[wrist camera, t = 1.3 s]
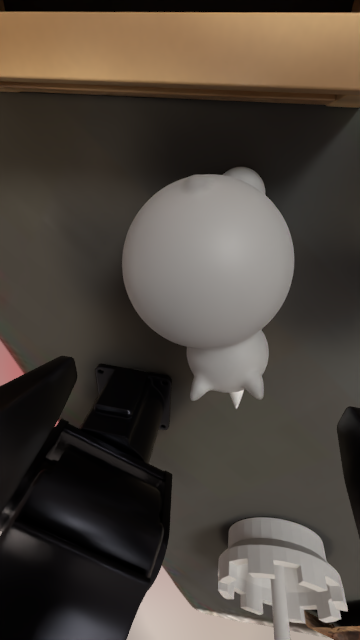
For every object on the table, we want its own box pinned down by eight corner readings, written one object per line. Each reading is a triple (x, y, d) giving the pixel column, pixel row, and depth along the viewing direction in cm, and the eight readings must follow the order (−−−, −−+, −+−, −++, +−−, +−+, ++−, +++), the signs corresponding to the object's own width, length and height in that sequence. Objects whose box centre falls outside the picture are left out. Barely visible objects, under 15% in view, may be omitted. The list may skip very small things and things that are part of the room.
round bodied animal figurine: (187, 353, 21) (159, 456, 14) (140, 184, 16) (54, 214, 8) (287, 346, 19) (313, 462, 12) (274, 148, 14) (310, 149, 6)
